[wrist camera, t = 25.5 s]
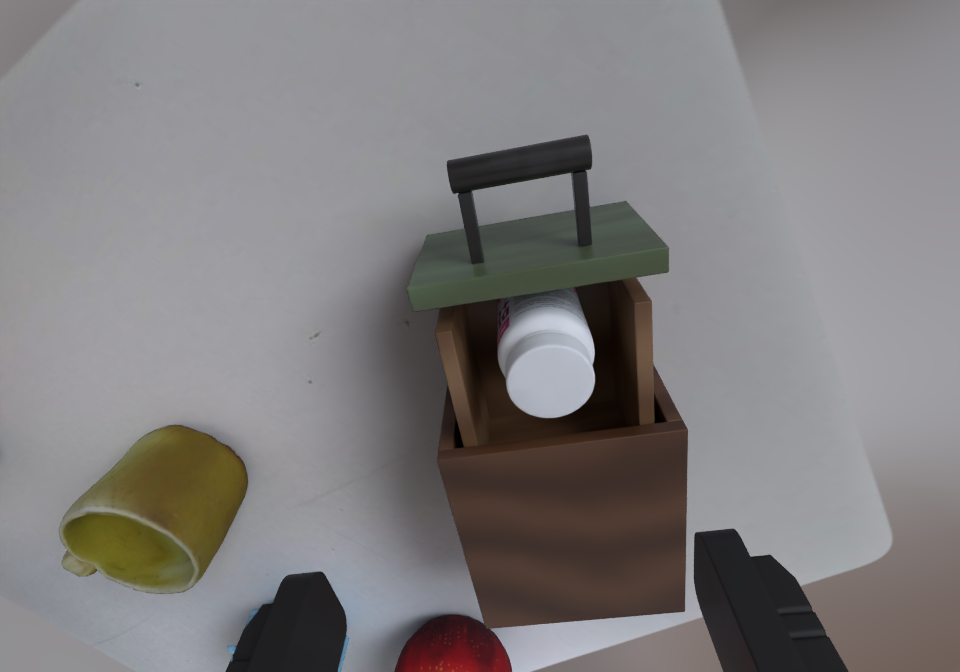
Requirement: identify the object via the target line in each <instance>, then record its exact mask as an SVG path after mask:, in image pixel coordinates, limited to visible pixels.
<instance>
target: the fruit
mask: <svg viewBox="0 0 960 672" xmlns="http://www.w3.org/2000/svg"><path fill="white" fill-rule="evenodd" d="M395 672H512V667H511V663H510V659H509V657H508V654H507V652H506V650H505V648H504V647H503V645H502V643H501V642H500V640H499V639H498V637H497V636H496V634H495V633H494V632H493V631H491V630H490V629H486V627H485V625H484V624H483V623H481V622H479V621H477V620H475V619H472V618H470V617H465V616H460V615H448V616H444V617H439V618H437V619H434V620H432V621H430V622H428V623H426V624H425V625H423V626H422V627H421V628H419V629H418V630H417V631H416V632H415V633H414V634H413V635H412V636H411V638H410V639H409V640H408V641H407V642H406V644H405V646H404V647H403V649H402V651H401V654H400V656H399V659H398V662H397V665H396V668H395Z"/></svg>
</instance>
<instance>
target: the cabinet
mask: <svg viewBox="0 0 960 672" xmlns="http://www.w3.org/2000/svg"><path fill="white" fill-rule="evenodd" d="M653 379H654V422H655V424H647V425H639V426H631V427H623V428H615V429H607V430H599V431H591V432H583V433H575V434H567V435H559V436H551V437H543V438H535V439H527V440H519V441H512V442H504V443H496V444H488V445H480V446H472V447H464V446H463V442H462V438H461V434H460V430H459V426H458V423H457V419H456V415H455V411H454V407H453V403H452V399H451V395H450V391H449V387H448V385H447V392H446V399H445V406H444V414H443V421H442V428H441V435H440V442H439V449H438V457H437V463H438V466H439V469H440V473H441V476H442V480H443V483H444V487H445V490H446V493H447V497H448V500H449V504H450V507H451V511H452V514H453V517H454V521H455V524H456V528H457V531H458V534H459V538H460V541H461V545H462V548H463V552H464V555H465V558H466V562H467V565H468V569H469V572H470V576H471V579H472V582H473V586H474V589H475V593H476V596H477V599H478V603H479V606H480V610H481V613H482V617H483V620H484V623H485V627H486V629H490V628H502V627H513V626H525V625H536V624H548V623H559V622H571V621H583V620H594V619H606V618H617V617H629V616H640V615H652V614H663V613H675V612H685V574H686V513H687V452H688V429H687V427H686V425H685V423H684V421H683V420H682V418H681V416H680V414H679V412H678V410H677V409H676V407H675V405H674V403H673V401H672V399H671V397H670V395H669V393H668V391H667V389H666V387H665V386H664V384H663V382H662V380H661V378H660V376H659V374H658V372H657V370H656V368H655V366H654V364H653Z"/></svg>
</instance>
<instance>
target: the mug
mask: <svg viewBox="0 0 960 672" xmlns="http://www.w3.org/2000/svg"><path fill="white" fill-rule="evenodd" d="M247 485H248V478H247V472H246V468H245V465H244V462H243V461H242V460H241V458H240V457H239V456H237V455H236V454H235V452H234V451H233V450H232V449H231V448H230V447H229V446H227V445H224V444H221V443H219V442H218V441H217V440H216V439H215V438H213V437H212V436H210V435H208V434H204V433H201V432H198V431H196V430H193V429H191V428H188V427H184V426H181V425H170V426H167V427H164V428H160V429H157V430H154V431H152V432H150V433H148V434H147V435H145V436H144V437H142V438H141V439H139V440H138V441H137V442H136V443H135V444H134V445H133V446H132V447H131V449H130V450H129V451H128V452H127V453H126V454H125V456H124V457H123V458H122V459H121V460H120V461H119V462H118V463H117V464H116V465H115V466H114V467H113V468H112V469H111V470H110V471H109V472H108V473H107V474H106V475H105V476H103V477H102V478H101V479H100V480H99V481H98V482H97V483H96V484H94V485H93V486H92V487H91V488H90V489H89V490H88V491H87V492H85V493H84V494H83V495H82V496H81V497H80V498H79V499H78V500H77V501H76V502H75V503H74V504H73V505H72V506H71V507H70V509H69V510H68V511H67V513H66V514H65V515H64V517H63V519H62V521H61V523H60V526H59V534H60V539H61V541H62V543H63V545H64V547H65V548H66V549H67V551H66V553H65V555H64V556H63V560H62V566H63V568H64V569H66V570H68V571H70V572H72V573H74V574H75V575H77V576H88V575H91V574H94V573H95V572H96V571H97V570H98V571H99V572H100V573H101V574H102V575H103V576H104V577H106V578H107V579H110V580H113V581H115V582H117V583H119V584H122V585H124V586H126V587H130V588H132V589H133V590H137V591H143V592H146V593H155V594H171V593H181V592H185V591H186V590H188V589H190V588H192V587H193V586H194V585H195V584H196V583H197V582H198V580H199V579H200V578H201V577H202V576H203V574H204V573H205V571H206V569H207V568H208V566H209V564H210V563H211V561H212V559H213V557H214V556H215V554H216V553H217V551H218V549H219V548H220V546H221V544H222V542H223V540H224V538H225V536H226V534H227V532H228V530H229V528H230V526H231V524H232V522H233V520H234V518H235V516H236V514H237V511H238V509H239V507H240V505H241V503H242V501H243V499H244V497H245V494H246V490H247Z"/></svg>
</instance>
